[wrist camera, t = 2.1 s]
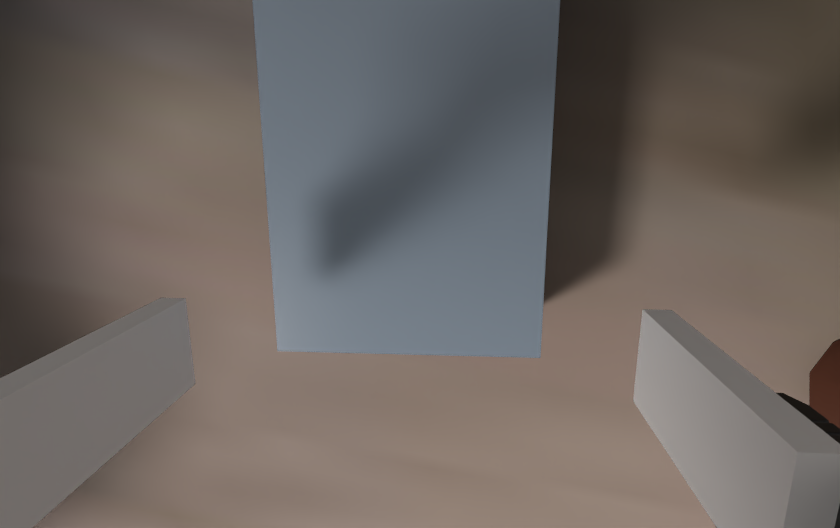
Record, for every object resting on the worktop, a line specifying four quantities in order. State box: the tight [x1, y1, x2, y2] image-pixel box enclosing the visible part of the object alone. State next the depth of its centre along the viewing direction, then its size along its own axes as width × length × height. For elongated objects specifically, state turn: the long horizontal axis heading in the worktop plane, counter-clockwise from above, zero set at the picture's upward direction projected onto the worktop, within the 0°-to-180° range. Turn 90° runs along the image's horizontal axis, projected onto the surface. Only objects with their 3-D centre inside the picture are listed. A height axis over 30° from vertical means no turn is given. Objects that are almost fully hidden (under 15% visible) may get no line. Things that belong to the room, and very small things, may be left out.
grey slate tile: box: [253, 0, 560, 358], centre depth 19 cm, size 10×18×5 cm, turn 0°
